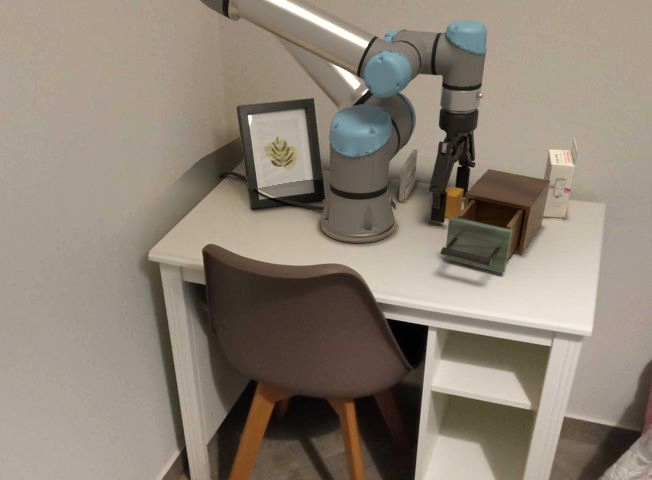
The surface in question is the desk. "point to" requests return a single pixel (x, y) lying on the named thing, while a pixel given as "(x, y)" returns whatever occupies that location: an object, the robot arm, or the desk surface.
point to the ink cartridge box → (559, 180)
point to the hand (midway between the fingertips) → (449, 208)
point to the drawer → (484, 235)
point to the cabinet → (514, 198)
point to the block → (453, 201)
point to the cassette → (408, 176)
